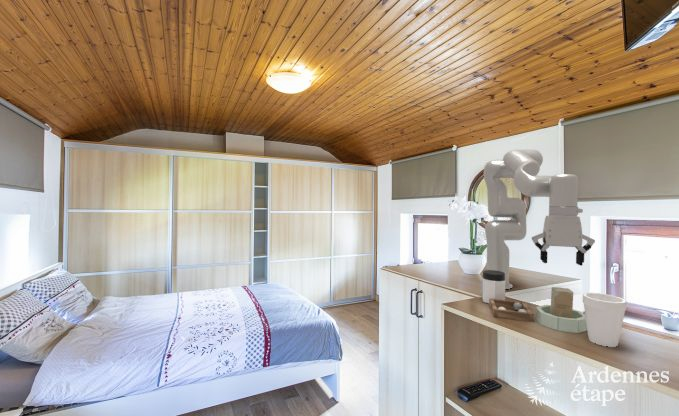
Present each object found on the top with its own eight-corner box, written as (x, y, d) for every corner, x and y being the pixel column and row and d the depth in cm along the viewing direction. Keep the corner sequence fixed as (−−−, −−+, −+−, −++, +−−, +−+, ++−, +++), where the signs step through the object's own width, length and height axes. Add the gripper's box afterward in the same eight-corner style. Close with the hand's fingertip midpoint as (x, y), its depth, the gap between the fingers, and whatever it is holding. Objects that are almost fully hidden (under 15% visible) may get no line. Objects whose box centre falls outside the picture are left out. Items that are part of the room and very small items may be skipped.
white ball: (516, 315, 107) (516, 307, 107) (526, 316, 106) (526, 308, 106) (518, 318, 104) (518, 310, 104) (528, 319, 103) (528, 311, 103)
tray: (489, 305, 118) (489, 298, 118) (524, 308, 114) (524, 302, 114) (494, 317, 106) (494, 310, 106) (533, 321, 102) (533, 314, 102)
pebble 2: (512, 308, 114) (512, 300, 114) (521, 308, 113) (521, 301, 113) (514, 311, 112) (514, 303, 111) (523, 312, 111) (523, 304, 110)
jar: (509, 302, 121) (509, 272, 121) (500, 306, 116) (500, 275, 116) (486, 296, 128) (487, 268, 128) (477, 300, 123) (477, 271, 123)
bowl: (532, 314, 108) (533, 303, 108) (576, 319, 104) (576, 307, 104) (543, 328, 96) (543, 316, 96) (593, 335, 92) (593, 322, 92)
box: (553, 323, 99) (554, 289, 99) (549, 318, 103) (550, 286, 103) (573, 325, 97) (573, 291, 97) (568, 320, 101) (569, 288, 101)
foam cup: (629, 353, 81) (630, 305, 81) (585, 344, 86) (586, 299, 85) (619, 339, 89) (621, 295, 89) (580, 332, 94) (580, 290, 94)
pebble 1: (498, 316, 106) (496, 314, 109) (508, 316, 106) (506, 314, 108) (497, 307, 107) (496, 305, 109) (507, 308, 106) (505, 305, 109)
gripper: (589, 212, 100) (588, 263, 100) (529, 211, 106) (528, 259, 106) (600, 213, 93) (599, 268, 93) (535, 212, 99) (534, 263, 99)
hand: (561, 263), depth 100 cm, fingers open, 9 cm apart
